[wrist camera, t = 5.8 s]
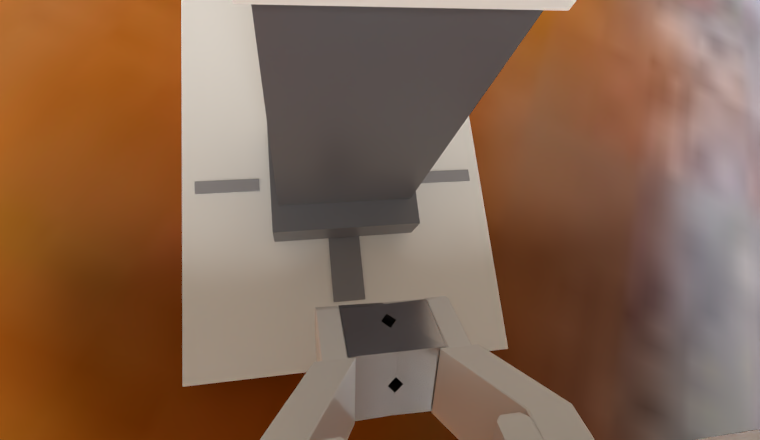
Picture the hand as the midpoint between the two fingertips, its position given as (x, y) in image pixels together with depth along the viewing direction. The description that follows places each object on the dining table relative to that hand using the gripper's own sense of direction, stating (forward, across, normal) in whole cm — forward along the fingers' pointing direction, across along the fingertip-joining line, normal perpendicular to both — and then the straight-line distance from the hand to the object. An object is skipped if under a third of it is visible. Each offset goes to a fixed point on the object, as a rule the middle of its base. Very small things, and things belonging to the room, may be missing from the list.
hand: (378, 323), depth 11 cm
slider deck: (+12, 0, -4) cm, 12 cm away
